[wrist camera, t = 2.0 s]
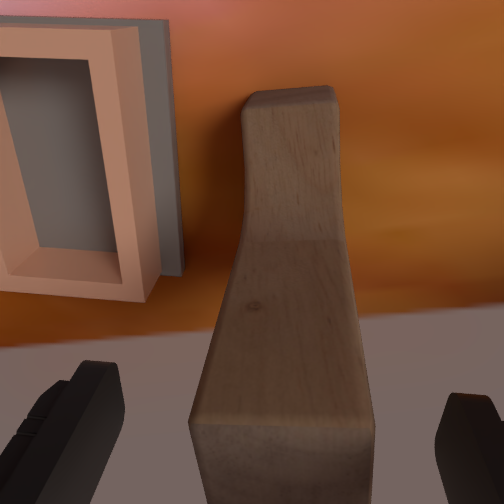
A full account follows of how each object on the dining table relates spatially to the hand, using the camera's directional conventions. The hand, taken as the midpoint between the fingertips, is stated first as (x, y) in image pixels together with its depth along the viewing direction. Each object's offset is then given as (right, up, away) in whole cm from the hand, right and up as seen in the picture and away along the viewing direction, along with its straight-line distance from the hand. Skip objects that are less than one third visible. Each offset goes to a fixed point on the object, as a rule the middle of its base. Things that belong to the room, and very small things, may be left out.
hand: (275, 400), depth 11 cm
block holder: (-11, +9, +16) cm, 21 cm away
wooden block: (+2, +9, +15) cm, 17 cm away
